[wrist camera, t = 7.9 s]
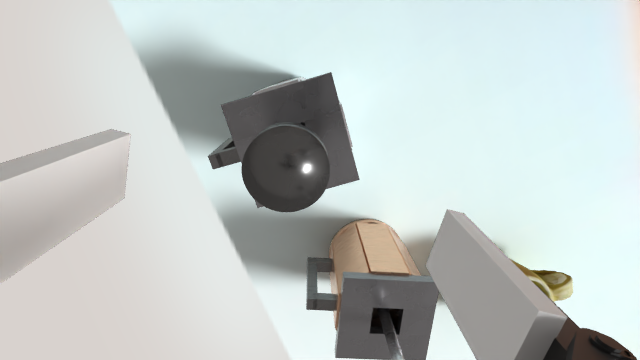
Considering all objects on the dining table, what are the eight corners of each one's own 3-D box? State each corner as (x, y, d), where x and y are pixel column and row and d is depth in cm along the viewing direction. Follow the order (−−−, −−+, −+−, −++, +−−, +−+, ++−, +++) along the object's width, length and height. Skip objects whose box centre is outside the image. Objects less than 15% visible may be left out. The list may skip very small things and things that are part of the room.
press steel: (249, 176, 42) (224, 220, 30) (221, 98, 40) (181, 112, 27) (347, 148, 42) (363, 182, 29) (326, 67, 39) (334, 67, 27)
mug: (445, 333, 47) (494, 369, 38) (430, 256, 48) (476, 270, 38) (526, 311, 50) (593, 339, 40) (512, 237, 50) (576, 247, 40)
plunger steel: (274, 88, 37) (243, 105, 20) (332, 103, 38) (350, 132, 20) (263, 145, 39) (224, 207, 21) (317, 158, 39) (324, 229, 22)
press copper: (305, 282, 47) (303, 359, 34) (310, 215, 44) (309, 272, 32) (396, 286, 47) (427, 364, 35) (406, 221, 45) (444, 279, 32)
